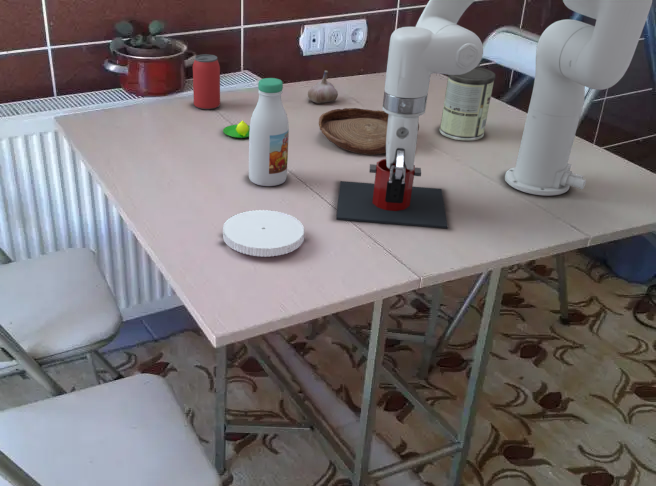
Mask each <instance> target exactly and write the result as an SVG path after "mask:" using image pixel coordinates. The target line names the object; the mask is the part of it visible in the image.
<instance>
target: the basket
mask: <svg viewBox="0 0 656 486" xmlns="http://www.w3.org/2000/svg"><path fill="white" fill-rule="evenodd" d="M388 115H389V114H388V113H386V112H384V111H383V110H373V109H367V108H366V109H364V108H358V107H349V108H348V107H344V108H336V109H331V110H329V111H326V112H324V113H322V114H321V115H320V116H319V118H318V127H319V130H320V131H321V133H322V134H323V135H324V136H325V138H326V139H327V140H329V141H330V142H331V143H332V144H334V145H336V146H337V147H339V148H341V149H343V150H345V151H349V152H351V153H354V154H359V155H368V156H372V155H373V156H374V155H379V154H386V135H387V124H388ZM419 130H420V122H419V123H418V131H419Z"/></svg>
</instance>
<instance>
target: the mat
mask: <svg viewBox="0 0 656 486" xmlns="http://www.w3.org/2000/svg"><path fill="white" fill-rule="evenodd" d="M373 190H374V183H368V182H360V181H359V182H357V181H345V180H340V181H339V191H338V200H337V211H336V220H337V221H349V222H359V223H361V222H363V223H372V224H373V223H375V224H385V225H396V226H397V225H398V226H410V227H411V226H412V227H423V228H435V229H437V228H438V229H448V220H447V214H446V208H445V201H444V196H443V189H442V188H437V187H425V186H424V187H423V186H413V187H412V193H411V200H410V206H409V207H407V208H406V209H404V210H399V211H391V210H384V209H381V208H378V207H376V206H375V205H374V204H373V203H372V198H373Z"/></svg>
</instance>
